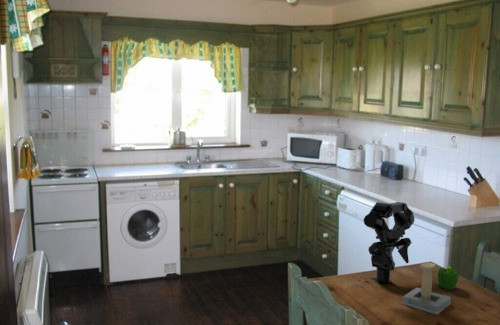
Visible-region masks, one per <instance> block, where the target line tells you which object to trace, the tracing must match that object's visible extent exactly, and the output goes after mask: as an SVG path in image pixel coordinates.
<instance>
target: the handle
mask: <svg viewBox="0 0 500 325" xmlns="http://www.w3.org/2000/svg"><path fill="white" fill-rule="evenodd" d="M420 269H421V270H422V277H421V278H422V279H421V285H420V288H421V297H422V299H424V300H427V301H430V297H431V292H432V288H433V283H432V282H433V279H432V278H433V271H434V270H435V269H436V264H435V263H434V262H429V261H427V262H421V263H420Z"/></svg>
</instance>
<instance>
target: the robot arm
mask: <svg viewBox="0 0 500 325" xmlns="http://www.w3.org/2000/svg"><path fill="white" fill-rule="evenodd" d="M414 215H415V214H414V212H413V210H412V209H410V208H409V207H408V204H407V203H405V202H400V201H396V202H392V203H387V202H386V203H385V202H380V201H377V202H375V204H374V205H373V207H372V208H371V209H370V212H369V213H368V214H366V215H365V216H364V218H363V224H364V225H365V226H366V227H367V228H370V229H371V230H373V231H375V234H376V236H375V238H376V240H379V241H376V242H375V241H374V242H373V243H371V245H370V246H368V252H369V255H371V256H370V257H371V258H370V260H371V267H372V268H376V270H375V277H372V280H374V282H376V283H377V284H379V285H382V284H393V281H392V280H391V279H390V276H391V275H390V274H391V271H395V266H396V263H395V261H394V257H393V252H394V250H395V248H396V249H397V252H398V254H399V255H400V257H401V258H402V260H403V261H404V262H405V263H406V264H409V262H410V260H409V254H408V252H409V251H408V249H409V247H410V246H411V244H412V243H413V242H412V240H411V238H409V237H404V236H405V235H406V231H407V230H409V229H411V227H412V226H413V225H414V223H415V216H414ZM392 216H393V220H394V221H393V222H394V224H393V227H392V228H391V229H390V228H389V226H388V223H387V221H386V220H385V219H387V220H388V219H389V218H391V217H392Z"/></svg>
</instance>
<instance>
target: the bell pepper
mask: <svg viewBox="0 0 500 325" xmlns="http://www.w3.org/2000/svg"><path fill="white" fill-rule="evenodd" d="M458 271H459V270H458V269H457V270H456V269H453V268H452V267H451V266H450V265H449V266H447V268H444V267H440V268H439V269H438V272H437V279H438V280H437V281H438V284H439V287H440V288H442V289H444V290H449V291H451V290H452V291H453V290H454V289H455V288H456V286H457V283H458V281H459V277H460V276H459V275H460V274H459V272H458Z"/></svg>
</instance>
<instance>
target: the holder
mask: <svg viewBox="0 0 500 325" xmlns="http://www.w3.org/2000/svg"><path fill="white" fill-rule="evenodd" d="M451 299H452V297H451V296H449V295H444V294H440V293H436V292H432V291H431V297H430V301H427V300H424V299H422V297H421V287H415V288H414V289H412V290H411V291H410V292H408V293H406V294H405V295H403V296H402V305H405V306H407V307H411V308H415V309H417V310H420V311H424V312H428V313H429V314H430V313H431V314H434V315H440V313H441V312H442V311H445V309H446V308H447V307H449V306H450V305H451Z"/></svg>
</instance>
